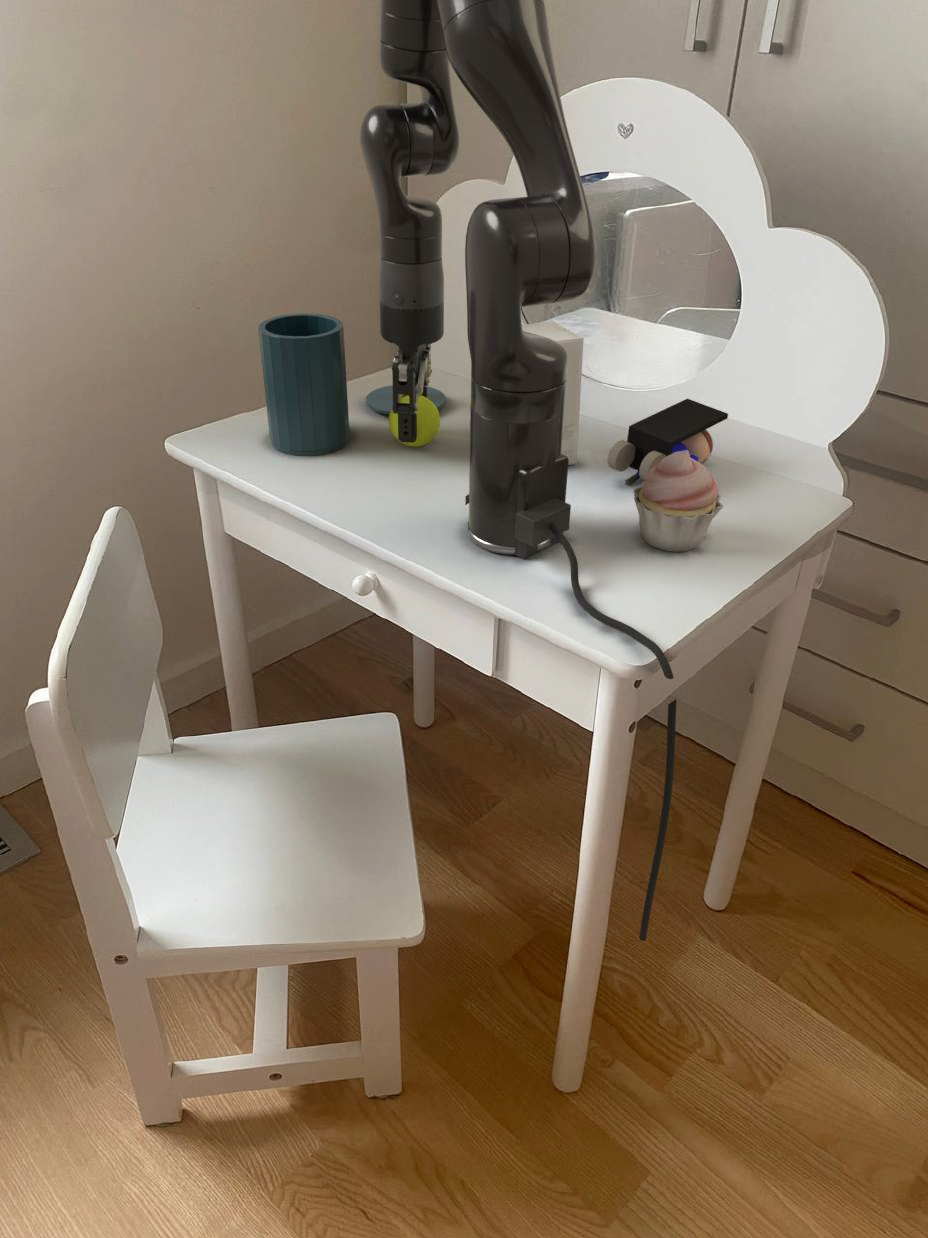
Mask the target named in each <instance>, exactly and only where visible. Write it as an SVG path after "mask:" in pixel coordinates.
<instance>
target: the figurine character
mask: <svg viewBox="0 0 928 1238" xmlns="http://www.w3.org/2000/svg"><path fill="white" fill-rule="evenodd" d="M728 418H729V413H727V412H725V411H722V410H720V409H716V408H714V407H712V406H709V405H706V404H703V403H701V402H698V401H695V400H692V399H690V398H685V399H684V400H683V399H682V400H681V401H679V402H677V403H675V404H673V405H671V406H668V407H666V408H664V409H661V410H660V411H657V412H656V413H653V414H652V415H649V416H647V417H645V418H643V419H640V420H639V421H637V422H635V423H632V424H630V425H628V433H627V439H626V440H624V439H621V440H618V441H617V442H615V443H614V444H613V446H612V447H611V448H610V450H609V452H608V455H607V466H608V467H609V468H610V469H613V470H615V471H617V472H624V471H626V470H627V469H628V468H631V469H633V470H636V473H635V474H633V475H631V476H629V477H628V478H627V479H625V480H624V485H626V486H631V485H632V484H634V483H636V482H637V481H638V480H640V479H642V480H643V481H644V479H645V476H646V474H647V473H648V472H649V471H650V469H652V468H653V467H655V466H657V465H659V463H660V462H661V460H662V459H664V458H665V457H667V456H669V455H671V454H673V453H675V452H680V451H685V450H688V452H689V455H690V458H692V459H694V460H695V461H697V462H699V463H700V464H703V463H704V462H706V461H707V460H708V459H709V458H710V456H711V454H712V452H713V448H714V442H713V437H712V435H711V433H710V432H709V431H708V430H707V429H710V428H711V427H714V426H715V425H717V424H720V423H722V422H723V421H726V420H727V419H728Z"/></svg>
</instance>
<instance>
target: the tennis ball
mask: <svg viewBox="0 0 928 1238" xmlns="http://www.w3.org/2000/svg"><path fill="white" fill-rule="evenodd" d="M402 403H409V396H408V395H407V396H404V397H402ZM388 425H389V430H390V432H391V433H392V435H393V437H394V438H395V440H397V441H398V442H399V443H400V444H402V445H405V446H407V447H412V448H413V447H414V448H416V447H422V446H425V445H427V444H429V443H430V442H432V441H433V440H434V439H435V437H436V436H437V434H438V432H439V430H440V426H441V416H440V412H439V410H438V409H437V408H436V406H435V405H434V403H433V402H432V401H431V400H429V399H428V398H426V397H424V396H419V397H418V411H417V439H416V441H415V442H414V443H410V442H401V441H399V439H398V414H395V413H393V410H392V409H391V411H390V415H388Z"/></svg>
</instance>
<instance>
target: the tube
mask: <svg viewBox="0 0 928 1238" xmlns="http://www.w3.org/2000/svg"><path fill="white" fill-rule="evenodd" d="M257 329H258V330H257V331H258V338H259V339H258V340H259V349H260V359H261V368H262V369H261V370H262V376H263V386H264V387H263V388H264V394H265V395H264V396H265V404H266V414H267V415H266V416H267V424H268V433H269V440H270V445H271V446H272V447H273V448H274V449H275V450H277V451H279V452H281V453H283V454H287V455H292V456H300V457H302V456H303V457H307V456H308V457H312V456H322V455H326V454H327V455H328V454H331V453H334V452H336V451H337V452H338V451H339V450H341V449H343V448H344V447H346V446H347V445H348V444H349V442H350V440H351V439H350V438H351V436H350V435H351V434H350V420H349V403H348V402H349V401H348V385H347V384H348V382H347V367H346V351H345V350H346V349H345V347H346V346H345V333H344V331H345V330H344V322H343V321H342V320H341V319H339V318H336V317H334V316H330V315H326V314H319V313H292V314H283V315H278V316H274V317H273V316H272V317H270V318H268V319H265V320H263V321H262V322H261V323H259V324H258V328H257Z"/></svg>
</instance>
